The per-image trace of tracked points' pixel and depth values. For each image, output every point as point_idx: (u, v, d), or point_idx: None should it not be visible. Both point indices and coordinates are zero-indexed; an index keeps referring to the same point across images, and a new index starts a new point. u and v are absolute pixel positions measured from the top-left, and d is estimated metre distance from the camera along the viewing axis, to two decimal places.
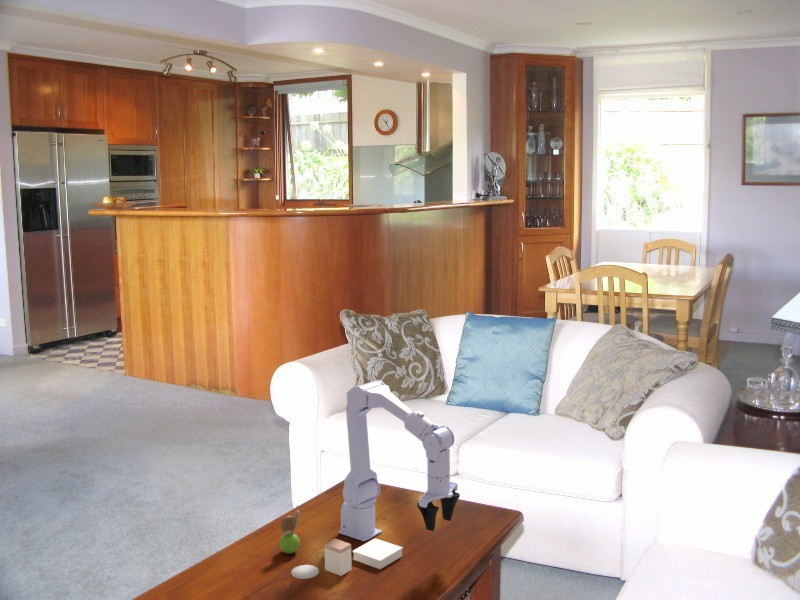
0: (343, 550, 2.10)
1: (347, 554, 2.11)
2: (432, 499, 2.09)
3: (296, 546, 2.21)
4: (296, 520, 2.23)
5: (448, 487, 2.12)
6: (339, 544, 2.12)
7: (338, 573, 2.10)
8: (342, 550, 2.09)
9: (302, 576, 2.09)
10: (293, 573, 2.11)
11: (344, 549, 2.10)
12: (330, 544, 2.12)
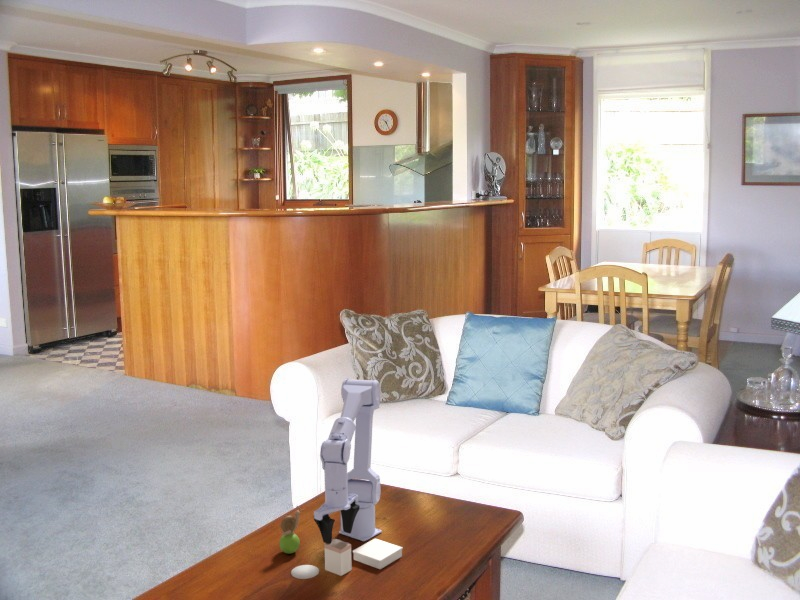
0: (343, 550, 2.10)
1: (347, 554, 2.11)
2: (327, 511, 2.06)
3: (296, 546, 2.21)
4: (296, 520, 2.23)
5: (345, 499, 2.09)
6: (339, 544, 2.12)
7: (338, 573, 2.10)
8: (342, 550, 2.09)
9: (302, 576, 2.09)
10: (293, 573, 2.11)
11: (344, 549, 2.10)
12: (330, 544, 2.12)
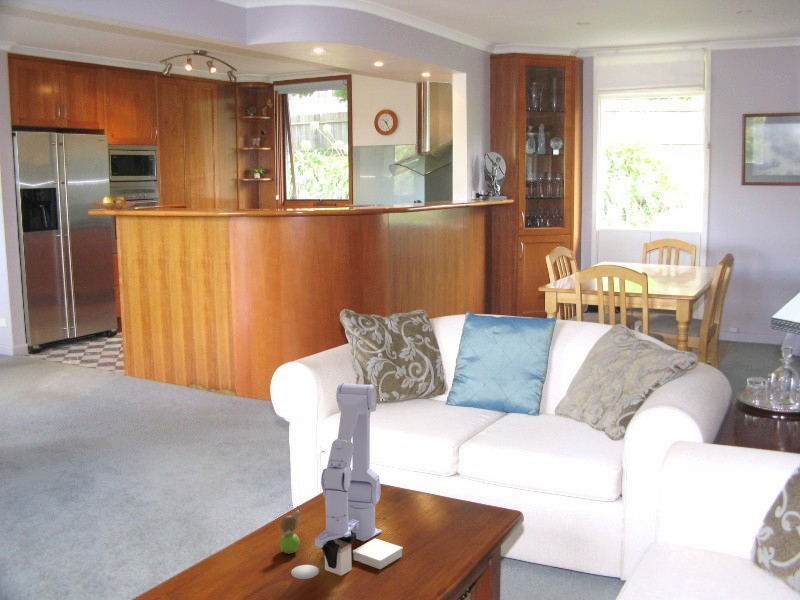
0: (343, 550, 2.10)
1: (347, 554, 2.11)
2: (328, 539, 2.07)
3: (296, 546, 2.21)
4: (296, 520, 2.23)
5: (346, 526, 2.10)
6: (339, 544, 2.12)
7: (338, 573, 2.10)
8: (342, 550, 2.09)
9: (302, 576, 2.09)
10: (293, 573, 2.11)
11: (344, 549, 2.10)
12: None
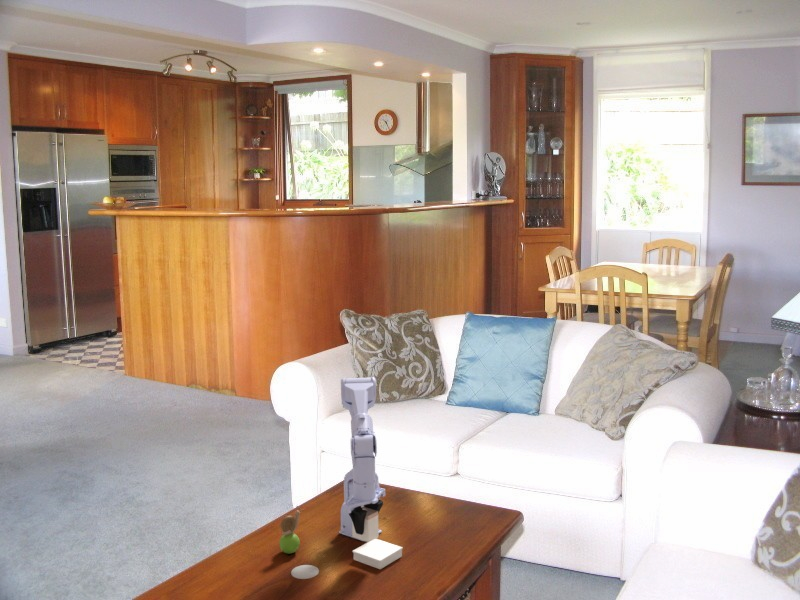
0: (370, 517, 2.13)
1: (374, 521, 2.14)
2: (356, 505, 2.10)
3: (296, 546, 2.21)
4: (296, 520, 2.23)
5: (373, 493, 2.13)
6: (367, 511, 2.15)
7: (365, 539, 2.14)
8: (369, 517, 2.13)
9: (302, 576, 2.09)
10: (293, 573, 2.11)
11: (371, 516, 2.13)
12: None
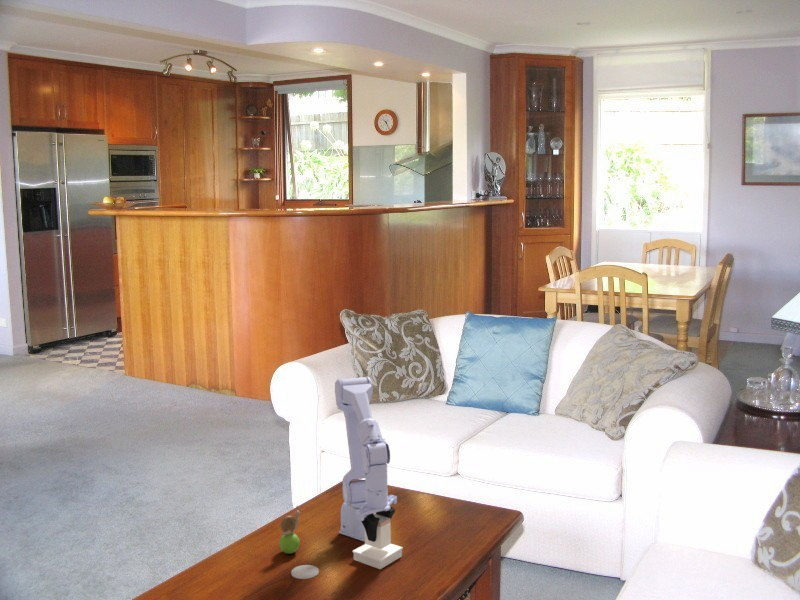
0: (383, 524, 2.15)
1: (387, 528, 2.17)
2: (369, 512, 2.12)
3: (296, 546, 2.21)
4: (296, 520, 2.23)
5: (386, 500, 2.15)
6: None
7: (378, 546, 2.16)
8: (382, 524, 2.15)
9: (302, 576, 2.09)
10: (293, 573, 2.11)
11: (384, 523, 2.15)
12: None
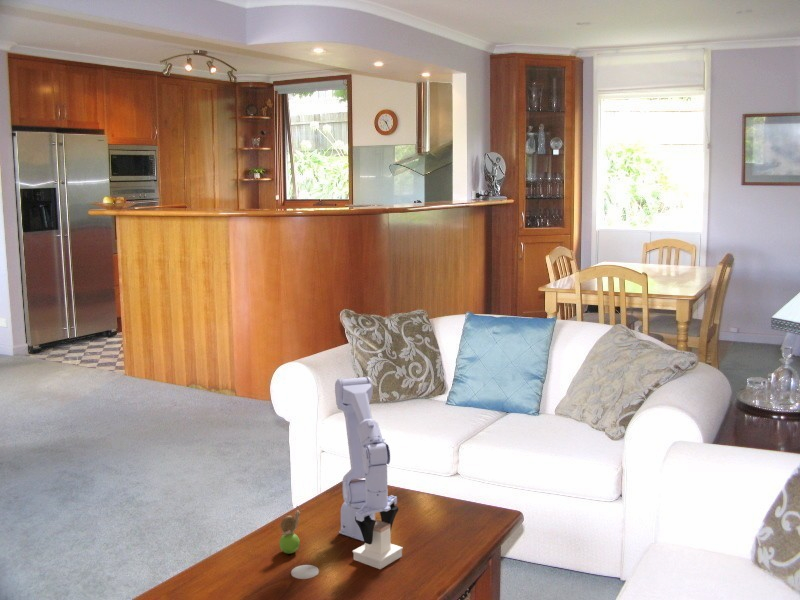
0: (383, 529, 2.15)
1: (387, 533, 2.17)
2: (369, 513, 2.12)
3: (296, 546, 2.21)
4: (296, 520, 2.23)
5: (386, 501, 2.15)
6: (379, 524, 2.17)
7: (378, 552, 2.16)
8: (382, 529, 2.15)
9: (302, 576, 2.09)
10: (293, 573, 2.11)
11: (384, 529, 2.16)
12: None
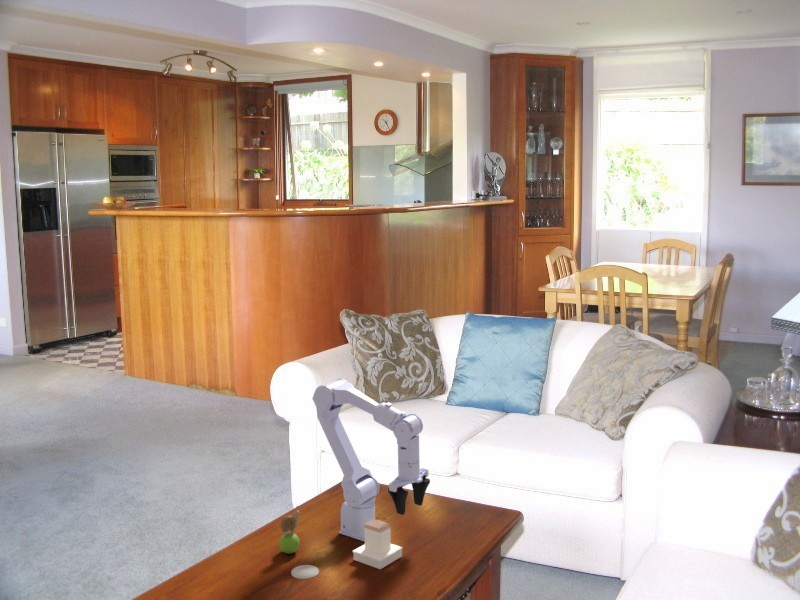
0: (383, 529, 2.15)
1: (387, 533, 2.17)
2: (402, 484, 2.19)
3: (296, 546, 2.21)
4: (296, 520, 2.23)
5: (418, 473, 2.22)
6: (379, 524, 2.17)
7: (378, 552, 2.16)
8: (382, 529, 2.15)
9: (302, 576, 2.09)
10: (293, 573, 2.11)
11: (384, 529, 2.16)
12: (370, 524, 2.17)
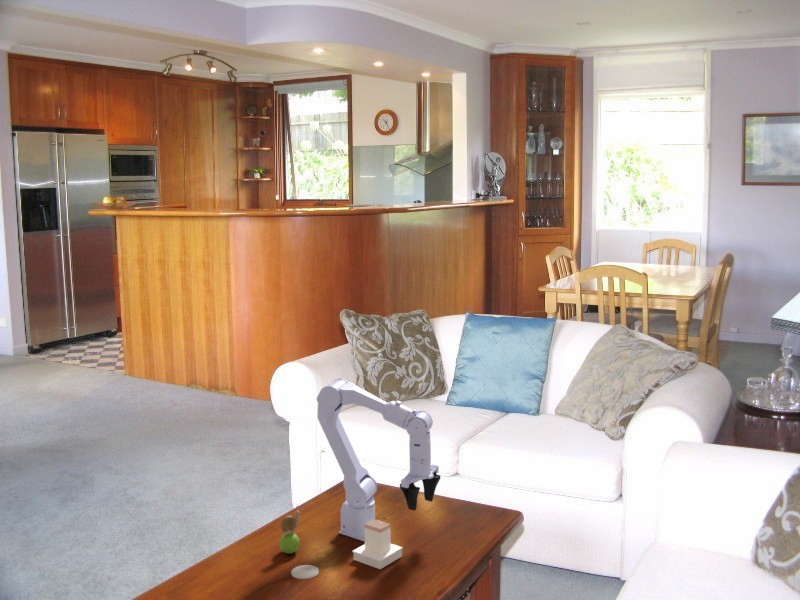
0: (383, 529, 2.15)
1: (387, 533, 2.17)
2: (413, 480, 2.21)
3: (296, 546, 2.21)
4: (296, 520, 2.23)
5: (429, 469, 2.24)
6: (379, 524, 2.17)
7: (378, 552, 2.16)
8: (382, 529, 2.15)
9: (302, 576, 2.09)
10: (293, 573, 2.11)
11: (384, 529, 2.16)
12: (370, 524, 2.17)
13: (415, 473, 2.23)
